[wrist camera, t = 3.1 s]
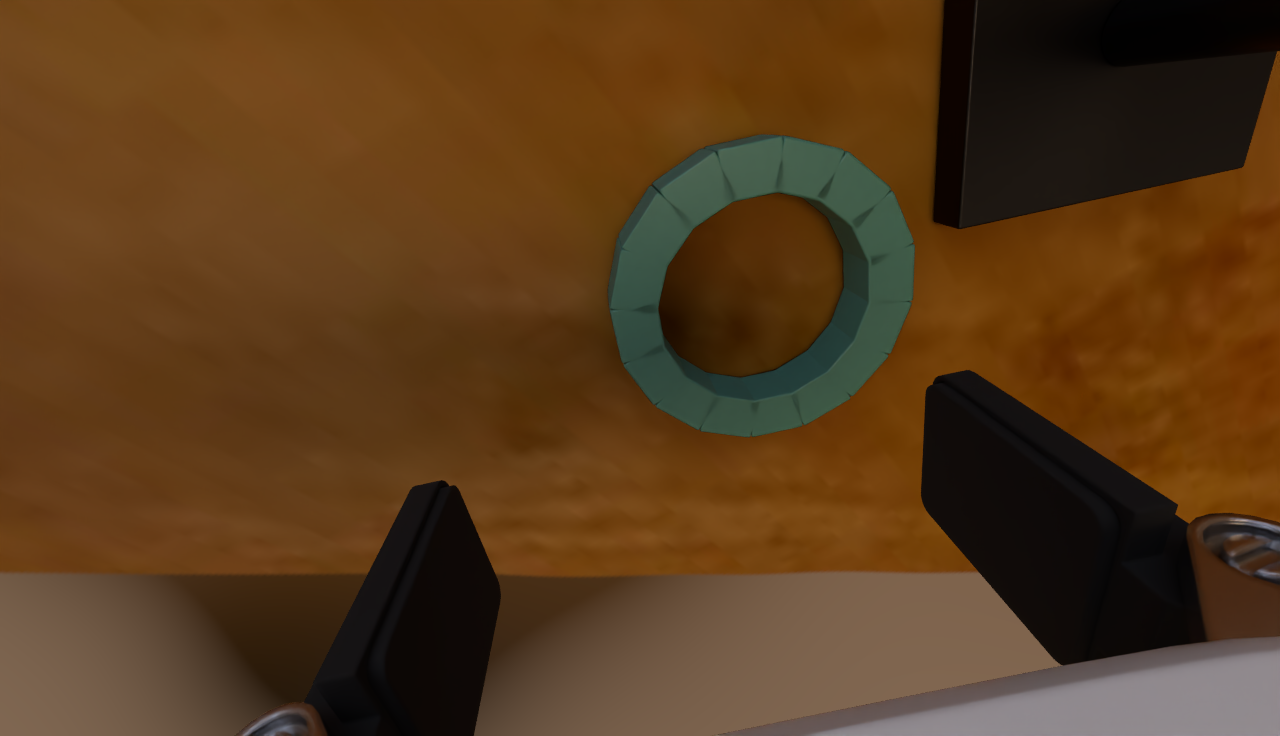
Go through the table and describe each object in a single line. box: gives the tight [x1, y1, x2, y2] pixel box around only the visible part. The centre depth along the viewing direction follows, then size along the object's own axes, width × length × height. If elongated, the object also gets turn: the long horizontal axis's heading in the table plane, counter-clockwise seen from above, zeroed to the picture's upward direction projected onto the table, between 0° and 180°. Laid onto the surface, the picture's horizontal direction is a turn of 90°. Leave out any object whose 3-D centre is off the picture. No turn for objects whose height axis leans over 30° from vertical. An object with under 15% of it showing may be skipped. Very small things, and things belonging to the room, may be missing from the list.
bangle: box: [608, 135, 915, 437], centre depth 19 cm, size 10×10×2 cm
